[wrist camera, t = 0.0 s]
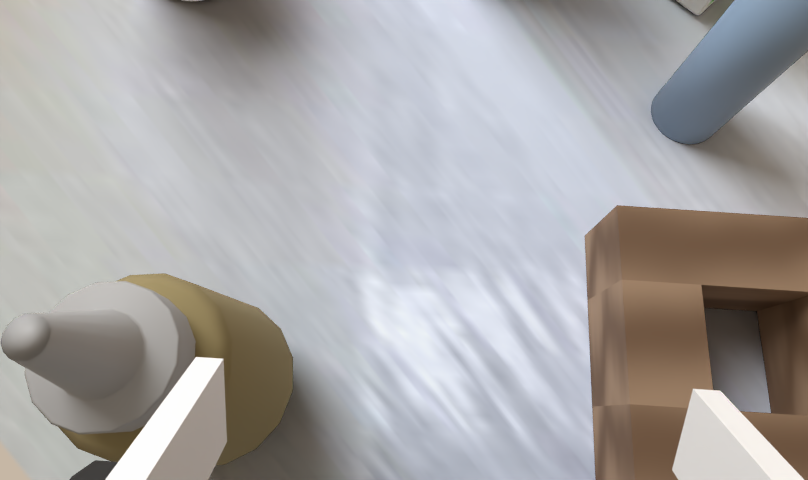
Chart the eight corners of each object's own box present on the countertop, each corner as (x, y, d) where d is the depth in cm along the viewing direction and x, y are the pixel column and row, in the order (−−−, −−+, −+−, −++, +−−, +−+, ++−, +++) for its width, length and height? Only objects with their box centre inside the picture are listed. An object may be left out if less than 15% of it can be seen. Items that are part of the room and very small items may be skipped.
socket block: (857, 501, 29) (949, 517, 24) (595, 485, 29) (636, 497, 24) (812, 250, 34) (882, 223, 29) (584, 235, 33) (617, 205, 29)
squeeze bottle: (289, 472, 29) (143, 549, 12) (138, 450, 29) (-220, 495, 12) (317, 321, 31) (231, 204, 14) (178, 301, 32) (-70, 163, 14)
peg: (721, 146, 36) (918, -17, 22) (653, 141, 36) (811, -24, 22) (713, 87, 37) (895, -98, 24) (648, 83, 37) (794, -105, 24)
